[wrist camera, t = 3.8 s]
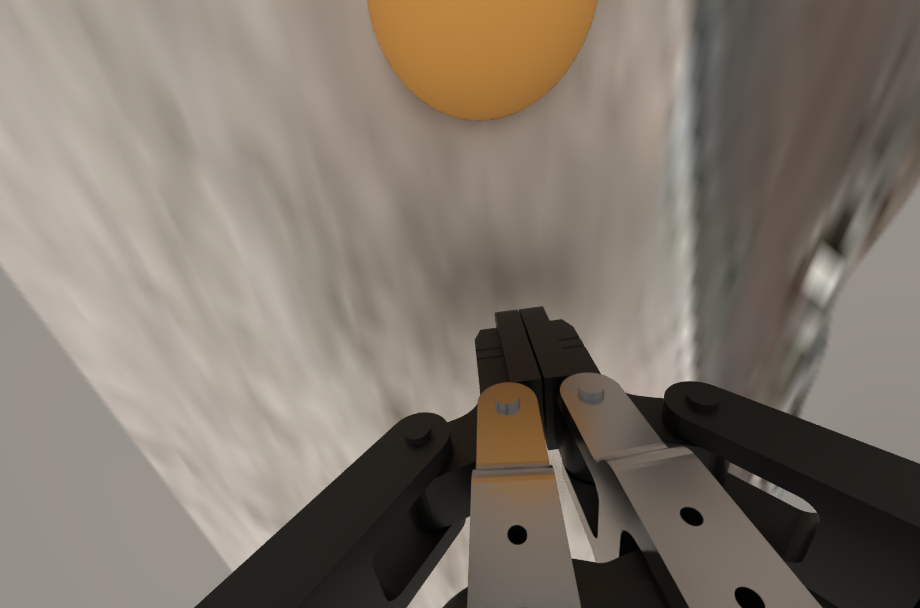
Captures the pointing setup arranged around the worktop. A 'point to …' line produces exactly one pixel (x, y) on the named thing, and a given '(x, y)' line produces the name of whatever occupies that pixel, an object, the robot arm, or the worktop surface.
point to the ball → (480, 50)
